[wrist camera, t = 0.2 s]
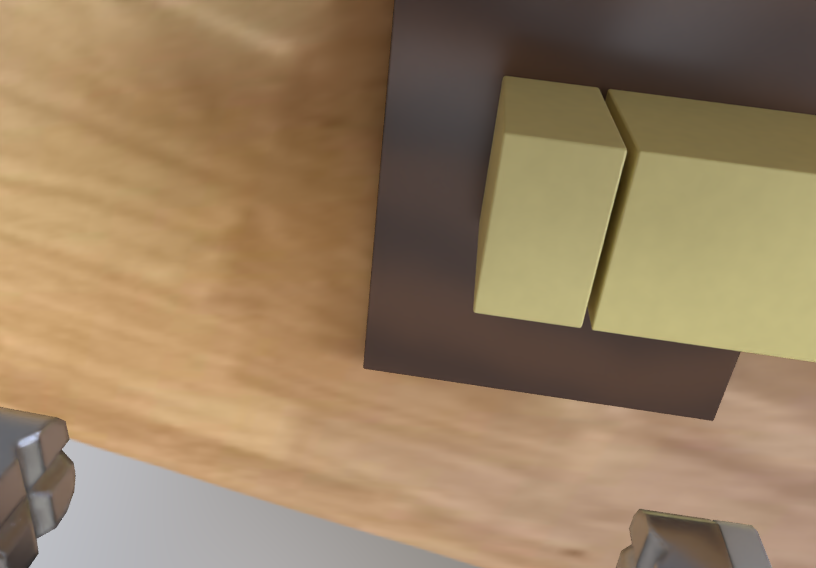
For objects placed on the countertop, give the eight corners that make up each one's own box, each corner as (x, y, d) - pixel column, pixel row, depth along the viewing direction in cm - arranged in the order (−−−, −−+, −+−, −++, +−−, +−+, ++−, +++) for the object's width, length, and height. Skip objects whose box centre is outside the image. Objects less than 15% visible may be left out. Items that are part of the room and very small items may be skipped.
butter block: (608, 88, 26) (639, 150, 20) (833, 116, 26) (934, 189, 20) (572, 237, 29) (591, 330, 23) (775, 265, 29) (847, 367, 23)
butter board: (414, -197, 24) (411, -200, 23) (919, -142, 23) (935, -143, 22) (366, 356, 35) (362, 369, 34) (708, 407, 34) (713, 421, 33)
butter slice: (503, 74, 27) (502, 132, 20) (599, 87, 26) (628, 149, 20) (479, 224, 30) (472, 313, 23) (565, 236, 29) (582, 329, 23)
